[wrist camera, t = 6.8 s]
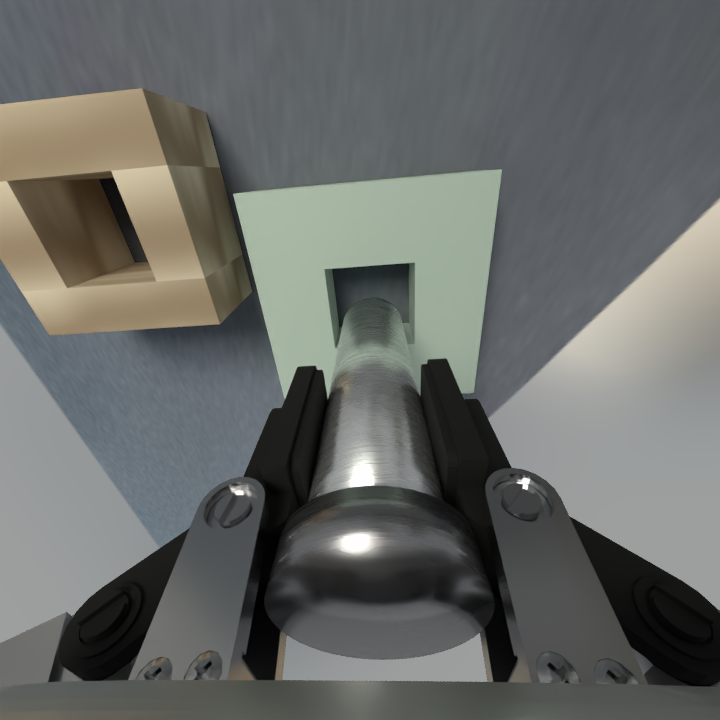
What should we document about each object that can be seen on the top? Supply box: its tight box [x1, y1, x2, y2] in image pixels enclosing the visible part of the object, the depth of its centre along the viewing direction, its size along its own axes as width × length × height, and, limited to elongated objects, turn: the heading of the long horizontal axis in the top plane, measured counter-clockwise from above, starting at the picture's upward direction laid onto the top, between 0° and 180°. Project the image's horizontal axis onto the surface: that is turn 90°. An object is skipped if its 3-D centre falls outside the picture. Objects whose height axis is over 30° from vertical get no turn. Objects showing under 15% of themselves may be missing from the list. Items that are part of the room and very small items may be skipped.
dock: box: [233, 169, 502, 399], centre depth 18 cm, size 12×12×3 cm
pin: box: [264, 298, 495, 660], centre depth 11 cm, size 4×4×12 cm
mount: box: [0, 88, 252, 335], centre depth 16 cm, size 9×9×5 cm
